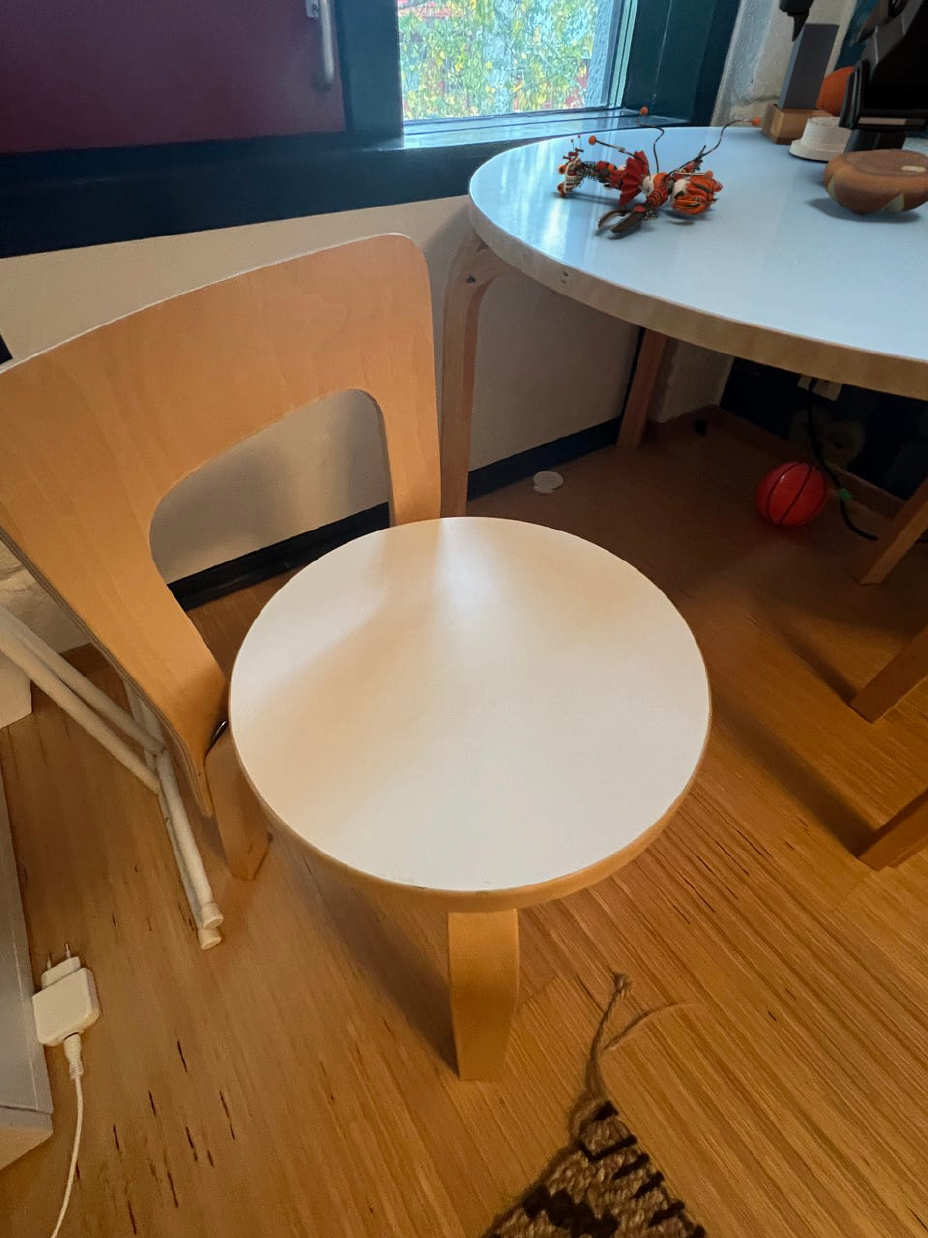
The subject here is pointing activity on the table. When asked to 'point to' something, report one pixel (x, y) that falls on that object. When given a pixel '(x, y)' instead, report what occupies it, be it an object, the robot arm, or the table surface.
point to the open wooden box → (788, 123)
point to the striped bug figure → (644, 183)
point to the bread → (878, 180)
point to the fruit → (833, 91)
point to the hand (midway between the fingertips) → (825, 39)
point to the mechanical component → (821, 139)
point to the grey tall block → (807, 66)
